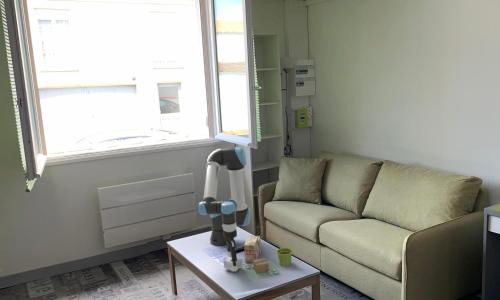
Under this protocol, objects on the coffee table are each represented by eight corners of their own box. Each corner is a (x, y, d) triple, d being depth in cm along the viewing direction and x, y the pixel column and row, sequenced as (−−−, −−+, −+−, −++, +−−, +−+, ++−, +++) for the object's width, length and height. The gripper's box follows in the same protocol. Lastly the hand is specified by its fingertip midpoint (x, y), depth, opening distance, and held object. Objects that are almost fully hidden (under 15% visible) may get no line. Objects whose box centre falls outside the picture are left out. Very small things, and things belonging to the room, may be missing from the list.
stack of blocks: (251, 249, 267) (250, 231, 264) (261, 249, 265) (260, 231, 263) (245, 264, 246) (243, 244, 244) (255, 264, 245) (254, 244, 243)
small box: (243, 266, 238) (242, 258, 237) (232, 271, 232) (232, 263, 231) (233, 262, 243) (233, 254, 242) (223, 267, 238) (222, 259, 237)
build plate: (242, 267, 243) (241, 263, 242) (271, 262, 246) (271, 258, 246) (249, 282, 223) (249, 279, 223) (282, 277, 227) (281, 273, 227)
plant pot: (283, 270, 235) (282, 256, 233) (273, 264, 242) (273, 250, 241) (296, 265, 239) (296, 251, 238) (286, 260, 247) (286, 246, 246)
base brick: (253, 268, 237) (253, 259, 236) (265, 266, 239) (265, 257, 238) (256, 273, 231) (256, 265, 230) (269, 271, 232) (268, 263, 231)
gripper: (219, 223, 244) (223, 259, 248) (226, 238, 222) (230, 277, 226) (232, 221, 245) (235, 256, 249) (240, 236, 223) (243, 274, 227)
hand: (232, 266), depth 238 cm, fingers closed on small box, 10 cm apart
